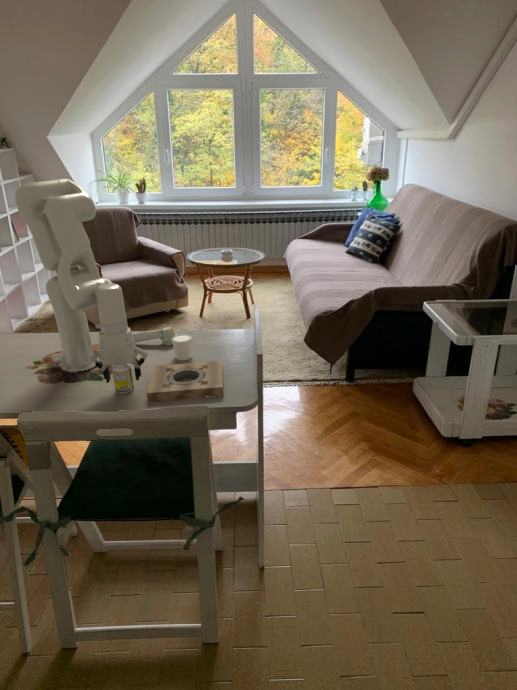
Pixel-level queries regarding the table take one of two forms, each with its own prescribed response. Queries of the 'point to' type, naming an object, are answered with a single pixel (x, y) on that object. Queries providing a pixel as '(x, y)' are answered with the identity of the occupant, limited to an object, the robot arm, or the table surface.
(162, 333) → the grey elongated piece
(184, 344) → the beige cylinder
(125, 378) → the supplement bottle
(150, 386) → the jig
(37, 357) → the table surface
